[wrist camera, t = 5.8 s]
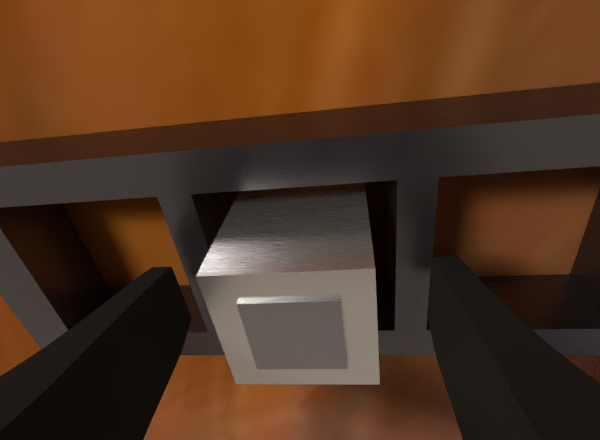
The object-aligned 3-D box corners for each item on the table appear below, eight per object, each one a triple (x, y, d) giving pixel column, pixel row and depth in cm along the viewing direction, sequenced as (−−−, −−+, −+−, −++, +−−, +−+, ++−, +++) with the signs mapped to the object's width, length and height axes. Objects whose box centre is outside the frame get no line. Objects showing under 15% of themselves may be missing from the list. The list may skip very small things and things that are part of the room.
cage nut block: (363, 169, 12) (375, 271, 7) (367, 265, 14) (380, 387, 10) (244, 179, 12) (194, 279, 8) (266, 269, 14) (235, 387, 10)
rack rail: (714, 71, 9) (823, 93, 7) (613, 298, 13) (663, 355, 11) (-18, 144, 12) (-90, 174, 10) (83, 309, 17) (46, 354, 15)
